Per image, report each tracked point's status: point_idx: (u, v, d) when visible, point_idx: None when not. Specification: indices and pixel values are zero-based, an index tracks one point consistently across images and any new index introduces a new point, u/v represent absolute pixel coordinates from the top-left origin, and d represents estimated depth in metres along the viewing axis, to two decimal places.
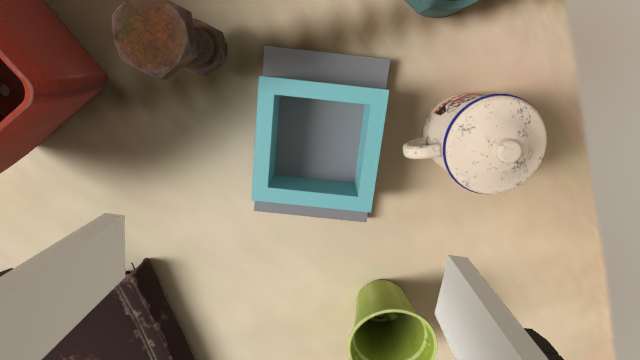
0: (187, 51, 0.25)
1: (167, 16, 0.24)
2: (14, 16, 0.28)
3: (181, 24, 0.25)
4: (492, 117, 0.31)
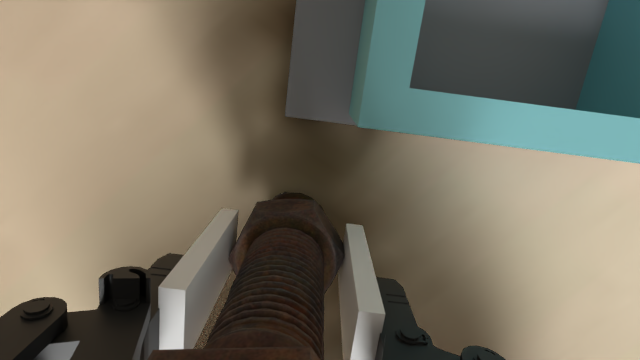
0: None
1: None
2: None
3: None
4: None
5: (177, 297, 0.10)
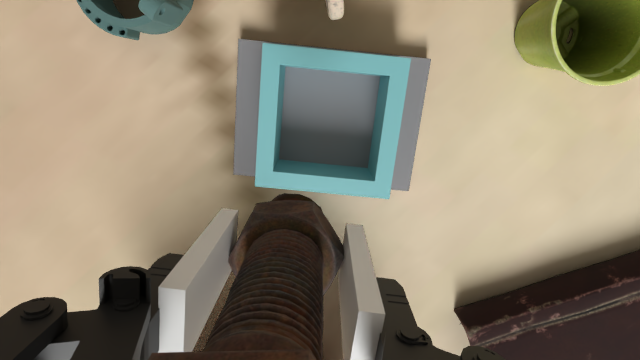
0: None
1: None
2: None
3: None
4: None
5: (177, 297, 0.10)
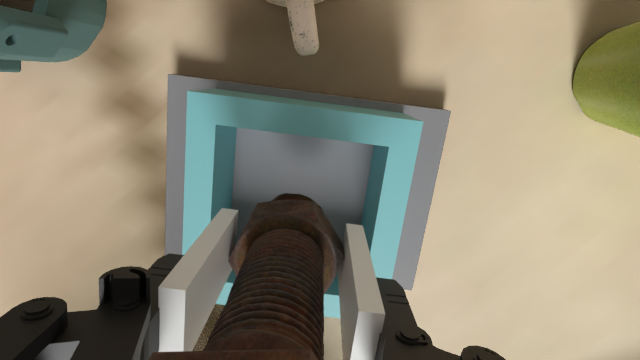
0: None
1: None
2: None
3: None
4: None
5: (177, 297, 0.10)
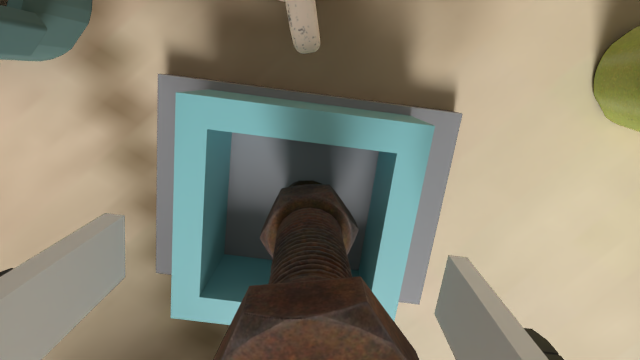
0: (359, 315, 0.08)
1: None
2: None
3: (284, 329, 0.08)
4: None
5: None
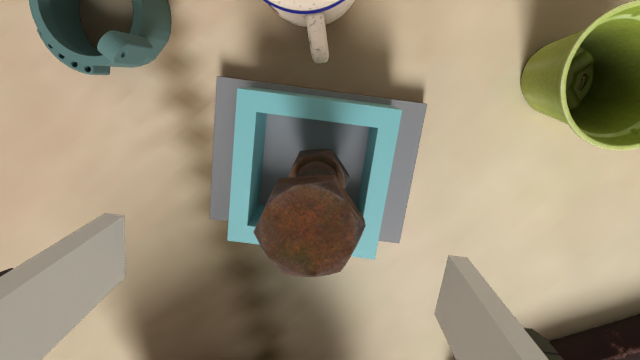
0: (330, 185, 0.18)
1: (285, 206, 0.18)
2: None
3: (294, 190, 0.18)
4: None
5: None
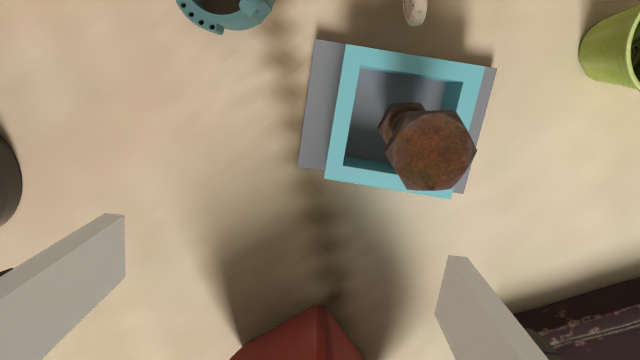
0: (453, 115, 0.23)
1: (416, 131, 0.23)
2: None
3: (425, 118, 0.23)
4: None
5: None
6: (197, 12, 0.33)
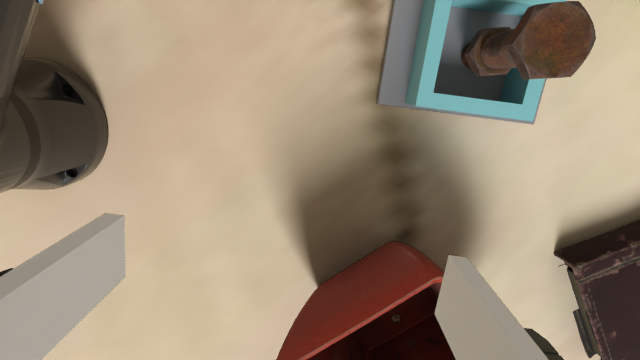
0: (577, 4, 0.25)
1: (543, 20, 0.25)
2: (367, 287, 0.37)
3: (553, 6, 0.25)
4: None
5: None
6: None
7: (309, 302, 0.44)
